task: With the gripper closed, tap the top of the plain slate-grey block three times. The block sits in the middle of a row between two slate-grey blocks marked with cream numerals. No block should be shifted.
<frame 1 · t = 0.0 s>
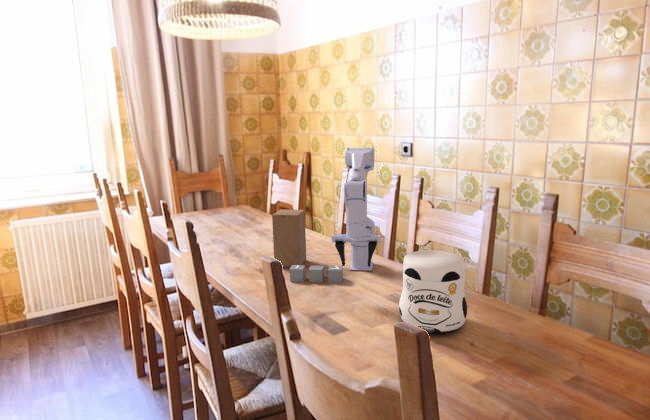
hand: (356, 265, 138), 10 cm above the table, fingers open, 7 cm apart
block marked 7: (335, 280, 155), on the table
milk container: (432, 324, 121), on the table
wooden block: (290, 264, 174), on the table
plain block: (316, 280, 155), on the table
block marked 1: (297, 279, 156), on the table
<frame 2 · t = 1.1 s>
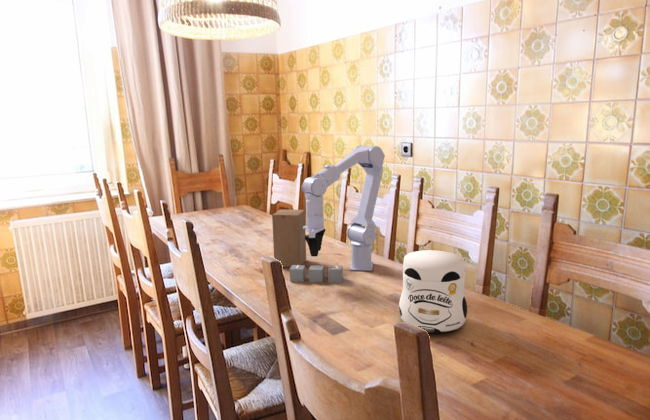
hand: (315, 253, 154), 9 cm above the table, fingers open, 6 cm apart
nothing on the table moved.
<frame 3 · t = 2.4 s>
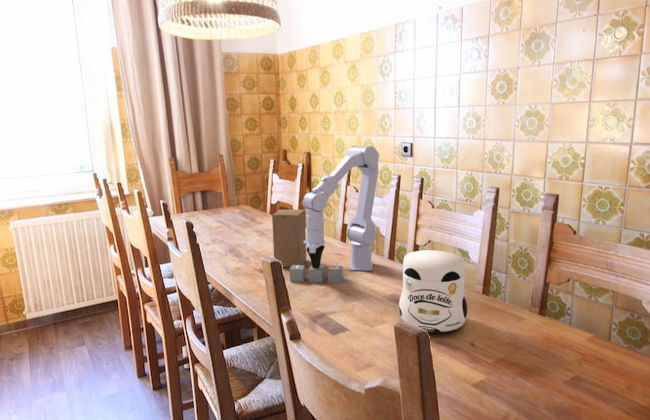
hand: (316, 267, 155), 4 cm above the table, fingers closed, pressing on plain block
plain block: (316, 280, 155), on the table, touching gripper
everything else where it was.
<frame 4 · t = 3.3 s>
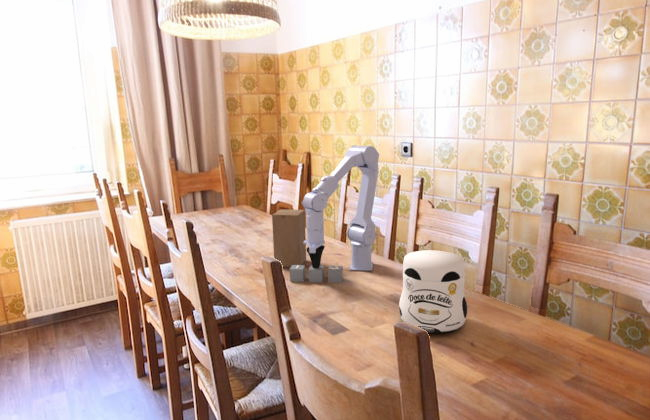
hand: (316, 267, 155), 4 cm above the table, fingers closed, pressing on plain block
plain block: (316, 280, 155), on the table, touching gripper
everything else where it was.
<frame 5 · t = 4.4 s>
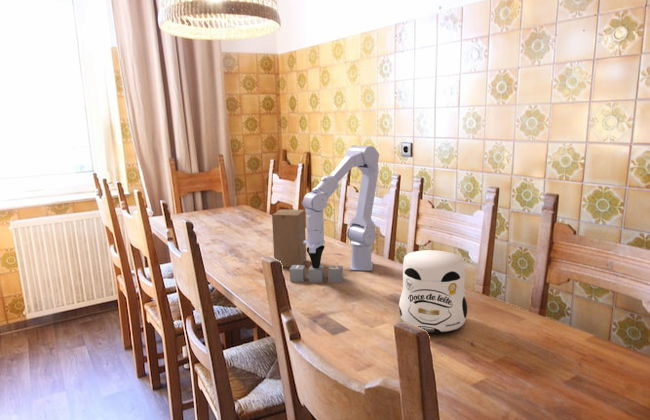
hand: (316, 267, 155), 4 cm above the table, fingers closed, pressing on plain block
plain block: (316, 280, 155), on the table, touching gripper
everything else where it was.
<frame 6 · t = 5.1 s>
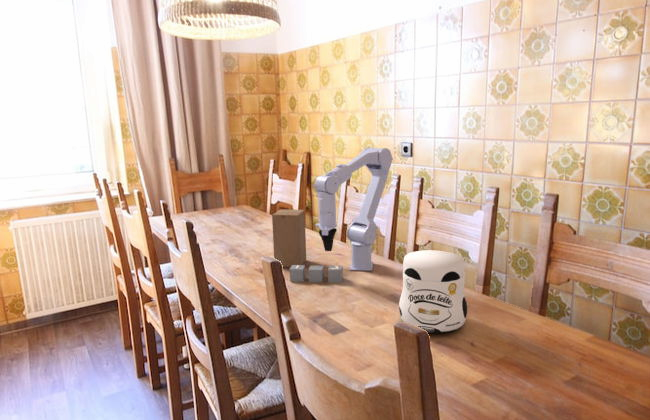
hand: (328, 250, 155), 10 cm above the table, fingers closed
plain block: (316, 280, 155), on the table
everything else where it was.
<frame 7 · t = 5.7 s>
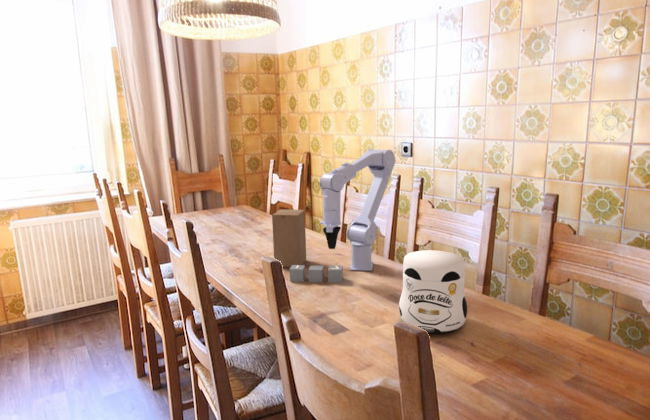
hand: (332, 248, 155), 10 cm above the table, fingers closed
nothing on the table moved.
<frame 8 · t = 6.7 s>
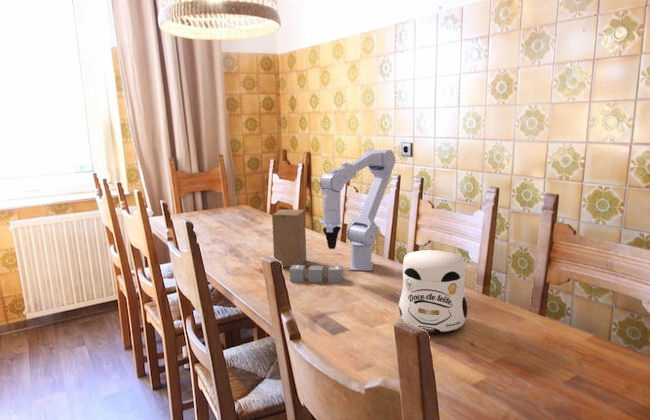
hand: (332, 248, 155), 10 cm above the table, fingers closed
nothing on the table moved.
at the end: plain block moved 0.1 cm from its start; block marked 1 moved 0.1 cm from its start; block marked 7 moved 0.1 cm from its start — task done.
